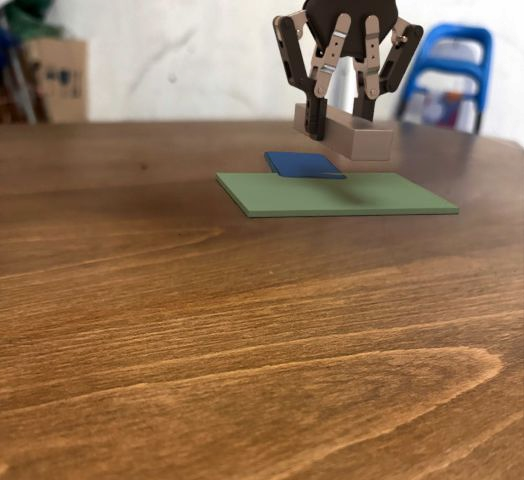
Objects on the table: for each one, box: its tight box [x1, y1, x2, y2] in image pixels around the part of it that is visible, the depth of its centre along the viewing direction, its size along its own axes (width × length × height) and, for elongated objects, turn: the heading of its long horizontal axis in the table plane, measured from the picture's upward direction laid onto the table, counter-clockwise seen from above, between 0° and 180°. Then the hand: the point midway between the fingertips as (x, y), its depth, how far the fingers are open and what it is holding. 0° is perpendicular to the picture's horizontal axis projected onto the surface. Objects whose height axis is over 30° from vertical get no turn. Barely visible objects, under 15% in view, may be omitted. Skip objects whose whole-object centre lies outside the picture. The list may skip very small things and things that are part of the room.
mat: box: [215, 172, 460, 218], centre depth 65 cm, size 20×14×1 cm
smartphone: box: [263, 150, 347, 179], centre depth 75 cm, size 7×1×15 cm
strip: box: [292, 102, 394, 162], centre depth 62 cm, size 16×4×2 cm, turn 15°
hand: (337, 139), depth 62 cm, fingers closed on strip, 3 cm apart
